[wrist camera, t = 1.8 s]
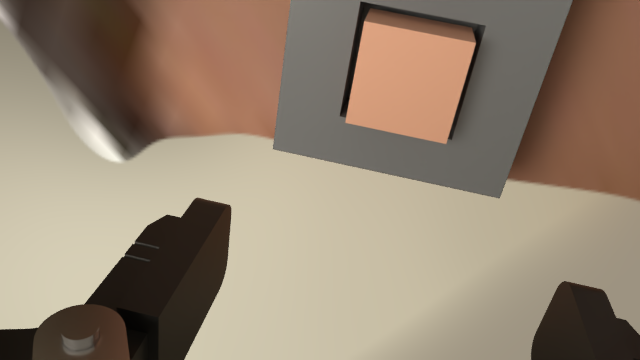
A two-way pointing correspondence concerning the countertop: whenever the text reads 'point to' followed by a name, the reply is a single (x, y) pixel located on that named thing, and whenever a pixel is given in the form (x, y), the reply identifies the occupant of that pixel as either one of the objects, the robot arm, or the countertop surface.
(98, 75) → the countertop surface
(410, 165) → the keypad
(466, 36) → the terracotta key
